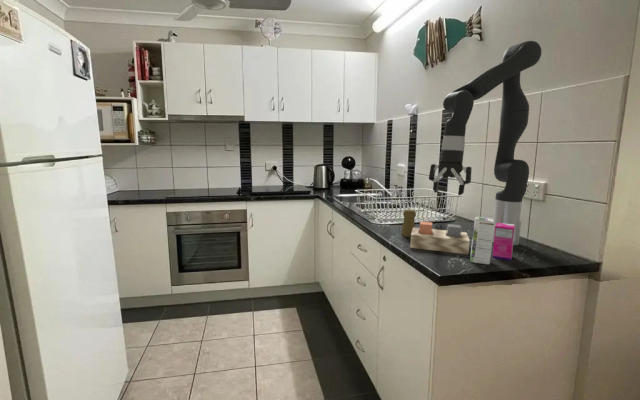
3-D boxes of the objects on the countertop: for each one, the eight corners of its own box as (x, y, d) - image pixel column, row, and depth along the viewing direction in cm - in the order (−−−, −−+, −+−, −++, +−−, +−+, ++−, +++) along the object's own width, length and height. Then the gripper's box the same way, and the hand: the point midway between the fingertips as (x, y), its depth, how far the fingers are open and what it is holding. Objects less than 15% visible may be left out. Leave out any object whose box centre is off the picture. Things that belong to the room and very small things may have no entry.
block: (465, 244, 128) (466, 232, 127) (468, 254, 117) (469, 240, 116) (412, 239, 134) (412, 227, 133) (410, 247, 123) (411, 234, 122)
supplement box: (493, 252, 119) (496, 222, 117) (512, 256, 116) (516, 224, 114) (491, 257, 114) (495, 225, 112) (511, 260, 111) (515, 227, 109)
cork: (404, 232, 145) (406, 207, 143) (417, 235, 141) (419, 209, 139) (398, 235, 140) (400, 209, 138) (411, 237, 136) (413, 211, 134)
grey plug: (459, 238, 125) (460, 225, 124) (459, 241, 121) (461, 227, 120) (446, 236, 126) (447, 224, 125) (447, 239, 122) (448, 226, 121)
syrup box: (469, 257, 114) (473, 216, 111) (488, 259, 112) (493, 217, 109) (470, 262, 109) (475, 219, 106) (490, 265, 106) (495, 221, 104)
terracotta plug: (431, 235, 128) (432, 222, 127) (431, 238, 124) (432, 225, 123) (419, 233, 129) (420, 221, 128) (419, 236, 125) (419, 223, 124)
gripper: (476, 150, 117) (470, 195, 120) (436, 148, 126) (431, 190, 128) (471, 149, 111) (465, 197, 114) (429, 148, 120) (425, 192, 122)
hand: (447, 193), depth 121 cm, fingers open, 8 cm apart
